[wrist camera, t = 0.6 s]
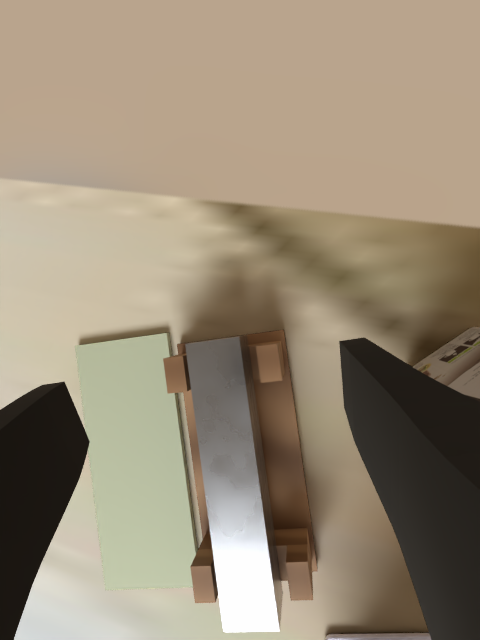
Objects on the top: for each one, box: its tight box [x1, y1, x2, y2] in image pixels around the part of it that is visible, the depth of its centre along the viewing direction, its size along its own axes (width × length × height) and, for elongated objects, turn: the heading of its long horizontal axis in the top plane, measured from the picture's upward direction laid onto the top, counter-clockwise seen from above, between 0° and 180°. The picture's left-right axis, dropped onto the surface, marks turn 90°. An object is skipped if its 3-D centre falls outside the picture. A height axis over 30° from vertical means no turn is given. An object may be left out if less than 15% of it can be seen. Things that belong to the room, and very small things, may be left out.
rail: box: [185, 335, 283, 632], centre depth 26 cm, size 18×4×4 cm, turn 8°
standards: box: [163, 330, 317, 603], centre depth 28 cm, size 18×8×5 cm, turn 8°
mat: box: [75, 333, 198, 590], centre depth 32 cm, size 20×8×1 cm, turn 8°
